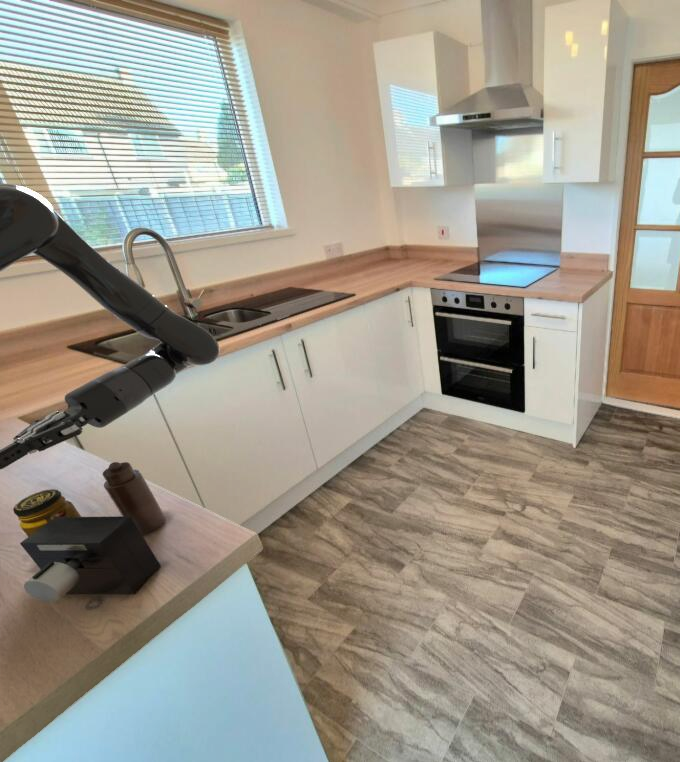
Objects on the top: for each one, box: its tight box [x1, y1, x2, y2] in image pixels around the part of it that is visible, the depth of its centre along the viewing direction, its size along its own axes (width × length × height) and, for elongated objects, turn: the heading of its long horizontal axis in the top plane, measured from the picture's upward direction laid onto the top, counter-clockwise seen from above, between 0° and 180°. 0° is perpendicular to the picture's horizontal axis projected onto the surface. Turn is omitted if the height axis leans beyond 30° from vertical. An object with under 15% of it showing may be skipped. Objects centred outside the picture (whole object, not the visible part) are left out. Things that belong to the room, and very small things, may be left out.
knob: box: [23, 558, 81, 603], centre depth 59 cm, size 5×4×5 cm
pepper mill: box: [102, 461, 167, 536], centre depth 73 cm, size 5×5×14 cm
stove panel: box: [19, 515, 162, 595], centre depth 63 cm, size 5×12×11 cm, turn 87°
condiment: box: [12, 488, 82, 538], centre depth 69 cm, size 7×8×12 cm
